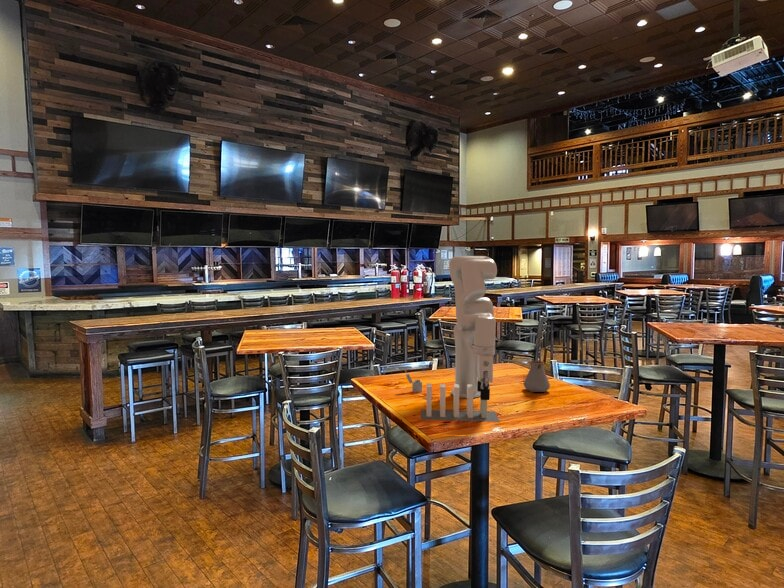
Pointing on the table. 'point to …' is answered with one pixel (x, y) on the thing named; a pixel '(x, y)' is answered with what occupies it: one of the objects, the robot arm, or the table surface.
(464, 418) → the mat
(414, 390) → the lighter
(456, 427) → the table surface
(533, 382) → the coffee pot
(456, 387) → the domino
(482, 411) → the domino
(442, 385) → the domino
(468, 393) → the domino
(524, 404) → the table surface
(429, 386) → the domino
